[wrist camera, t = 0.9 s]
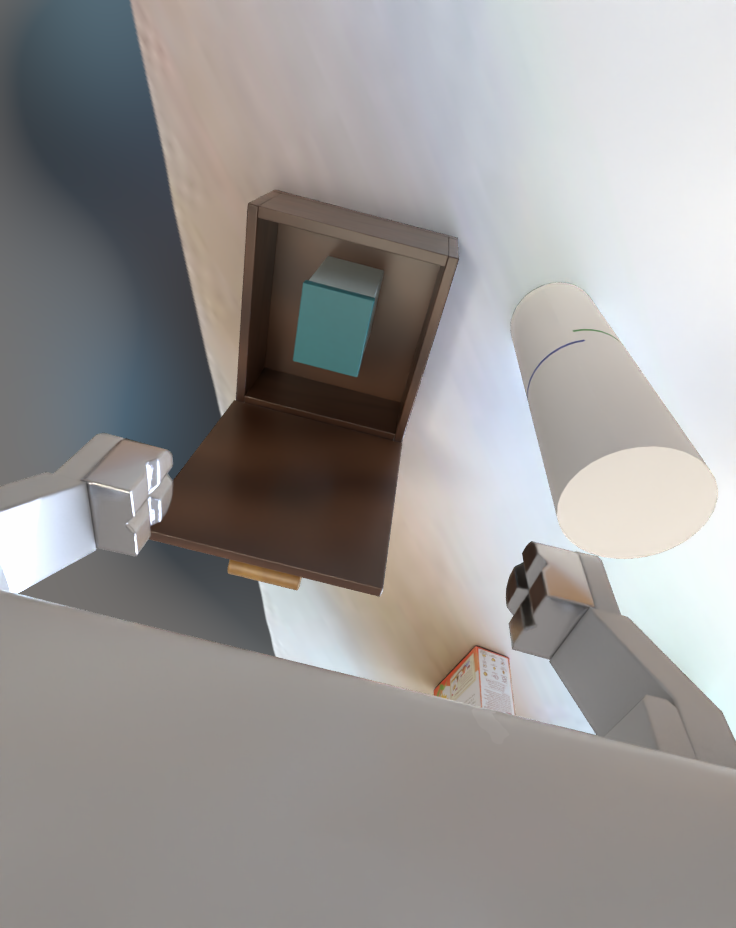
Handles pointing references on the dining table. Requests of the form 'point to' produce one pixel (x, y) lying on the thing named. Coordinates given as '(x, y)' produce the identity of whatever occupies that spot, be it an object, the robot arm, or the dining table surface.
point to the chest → (394, 324)
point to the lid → (287, 500)
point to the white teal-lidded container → (337, 315)
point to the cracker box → (480, 682)
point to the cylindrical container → (605, 432)
